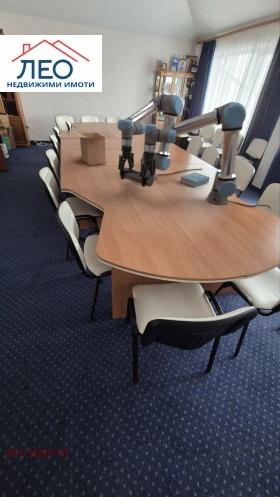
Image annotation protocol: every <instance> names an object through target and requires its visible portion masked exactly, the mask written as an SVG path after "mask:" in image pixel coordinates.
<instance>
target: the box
mask: <svg viewBox="0 0 280 497" xmlns="http://www.w3.org/2000/svg"><path fill="white" fill-rule="evenodd" d="M70 133H71V134H72V135H74V136H75V137H77V138H79V144H80V153H81V160H83V162H85V163H86V165H87V166H95V165H97V166H98V165H106V163H107V162H106V158H107V157H106V138H113V137H114V136H113V135H111V134H109V133H108V132H105V131H98V132H96V131H95V130H92V129H91V130H77V132H76V131H70Z"/></svg>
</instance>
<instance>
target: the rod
mask: <svg viewBox="0 0 280 497" xmlns="http://www.w3.org/2000/svg"><path fill="white" fill-rule="evenodd" d="M123 170H124V180H127V181H130V182H133V183H137V184H140V185H141V184H142V182H141V181H142V177H140V170H135V169H134V168H132V169H129V168H128V167H126V166H124V169H123ZM119 176H120V178H121V175H120V174H119ZM145 178H146V180H145V187H147V188H151V187H152V186H153V185H154V183H155V179H154V176H152V175H149V174H146V175H145Z"/></svg>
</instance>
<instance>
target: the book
mask: <svg viewBox="0 0 280 497" xmlns="http://www.w3.org/2000/svg"><path fill="white" fill-rule="evenodd" d="M208 182H210V176H208V175H205V174H201V173H198V172H197V171H196V172H195V171H194V172H191V173H189V174H186V175H182V176H180V181H179V183H180V184H183V185H186V186H188V187H191V188H196V187H198V186H201V185H203V184H207V183H208Z"/></svg>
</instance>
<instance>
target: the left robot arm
mask: <svg viewBox="0 0 280 497" xmlns="http://www.w3.org/2000/svg"><path fill="white" fill-rule="evenodd" d="M183 110H184V101H183V98H182V97H181V96H180V95H177V94H167V93H163V94H160V95H157V96H156V97H153V98H152V99H150V100H149V101H148V103H147V104H146V105H144V106H143V107H141V108H140V109H138V110H137V111H135V112H134V113H132V114H131V115H129V116H128V117H126V118H123V119H119V120H118V121H117V124H116V125H117V126H116V127H117V130H118V131H120V132H121V143H120V144H121V146H120V148H121V149H120V150H121V154H119V155H118V166H117V170H118V171H119V176H120V175H121V177H120V179H121V180H125V178H124V170H123V169H124V167H125V165H126V162H127V164H128V167H127V168H129V169H134V167H135V158H134V157H135V156H134V155H135V153H134V152H133V136H141V135H145V128H146V124H145V123H144V122H143V121H144V120H146V119H148V118H149V117H150V116H152V115H153V114H154V115H156V114H157V113H162V116H163V124H162V128H161V129H163V128H164V127H166V126H170V125H174V124H175V123H176V119H177V118H178V117H179V115H181V113H182V112H183ZM158 143H159V144H158V148H157V150H155V151H154V152H155V158H154V159H156V170H158V171H161V172H165V171H166V170H168V169H169V168H170V166H171V163H172V160H171V159H172V158H171V157H170V152H169V151H170V147H171V146H170V145H171V143H163V142H158ZM141 159H142V162H143V161H144V159H145V158H144V151H143V152H142V157H141ZM145 166H146V165H145ZM194 170H195V171H200V170H201V168H192V169H184V170H179V171H175V172H172V173H158V174H157V173H155V175H153V176H154V180H156V178H157V176H169V175H174V174H177V173H182V172H187V171H194ZM146 174H150V169H149V168H148V169H147V172H146Z"/></svg>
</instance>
